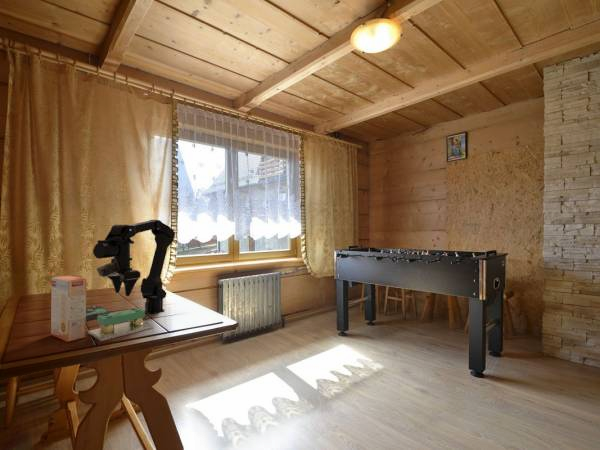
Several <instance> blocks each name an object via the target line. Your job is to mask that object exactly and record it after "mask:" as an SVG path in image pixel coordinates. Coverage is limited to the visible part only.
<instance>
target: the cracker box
mask: <svg viewBox="0 0 600 450" xmlns="http://www.w3.org/2000/svg"><path fill="white" fill-rule="evenodd" d="M50 301H51V305H50V306H51V307H50V308H51V313H50V315H51V316H50V317H51V318H50V319H51V321H50V335H51V336H53V337H55V338H58V339H59V340H62V341H65V342H67V343H69V342H73V341H77V340H81V339H84V338H86V337H87V336H86V333H87V332H86V331H87V329H86V328H87V325H86V323H87V322H86V308H87V278H83V277H78V276H73V275H62V276H61V275H60V276H55V277H51V300H50Z"/></svg>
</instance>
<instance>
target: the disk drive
mask: <svg viewBox="0 0 600 450" xmlns="http://www.w3.org/2000/svg"><path fill="white" fill-rule="evenodd" d="M109 313H111V311H110V310H109V309H107V308H104V307H102V306H99V305H93V306H88V307H87V306H86V321H87V322H88V321H91V320H95V319H96V320H97V316H99V315H104V314H109Z"/></svg>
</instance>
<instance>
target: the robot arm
mask: <svg viewBox="0 0 600 450" xmlns="http://www.w3.org/2000/svg"><path fill="white" fill-rule="evenodd" d="M147 231H151V234H152V235H153V236H154V242H155V244H156V246H155V250H154V254H153V257H152V258H153V259H152V261H151V266H150V269H149V274H148V275H147V277H146V278H145V277H143V278H142V280H141V284H140V286H139V288H140V292H141V296H142V299H145V302H144V310H145V313H147V314H150V315H151V314H156V313H160V312H161V313H163V312H165V309H164V306H163V305H164V304H163V303H164V299H165V298H166V297H167V292H166V290H165V289H164V288H163V281H162V278H161V276H162V272H163V268H164V265H165V260H166V257H167V256H166V255H167V251H168V248H169V246H171V244H173V242H174V239H175V236H176V233H175V230H174V229H173V228H172V227H170V226H169V225H167V224H165V223H163V221H162V220H160V219H149V220H146V221H145V220H144V221H143V222H136V223H132V224H113V225H112V226H111V228H110V231H109V232H108V234H107V235H106V237H105V238H104V239H101V240H99V239H98V240H97V243H96V244H95V245H94V247H93V250H92V251H93V255H94V257H95V258H96V259H106V258H111V259H110V262H109V263H106V264H104V265H101V266H98V267H97V268H96V271H97V274H98V276H99V277H101V278H105V277H106V278H108V279H110V280H111V282H112V286H113V288H114V291H115V293H116V294H118V293H120V292H121V291H120V290H121V288H122V284H123V286H124V292H125V293H124V294H125V296H126V297H129V296H130V295H131V293H132V291H133V289H134V287H135V285H136V284H137V282H138V280H139V279H140V278H141V271H139V270H136V269H133V267H131V261H133V257H131V245H133V244H135V241H134V240H132V238H133V237H135V236H136V235H137V234H140V233H143V232H147Z"/></svg>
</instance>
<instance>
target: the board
mask: <svg viewBox="0 0 600 450" xmlns="http://www.w3.org/2000/svg"><path fill="white" fill-rule="evenodd" d="M145 317H146V312H145V309H142V308H139V307H134V308H129V309H125V310H120V311H116V312H110V313H109V314H104V315H99V316H97V318H96V320H97V322H96V323H97V324H99V325H100V324H101V325H103V326H108V325H113V324H114V325H116V324H121V323H125V322H129V321H130V320H134V319H139V318H145Z"/></svg>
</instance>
